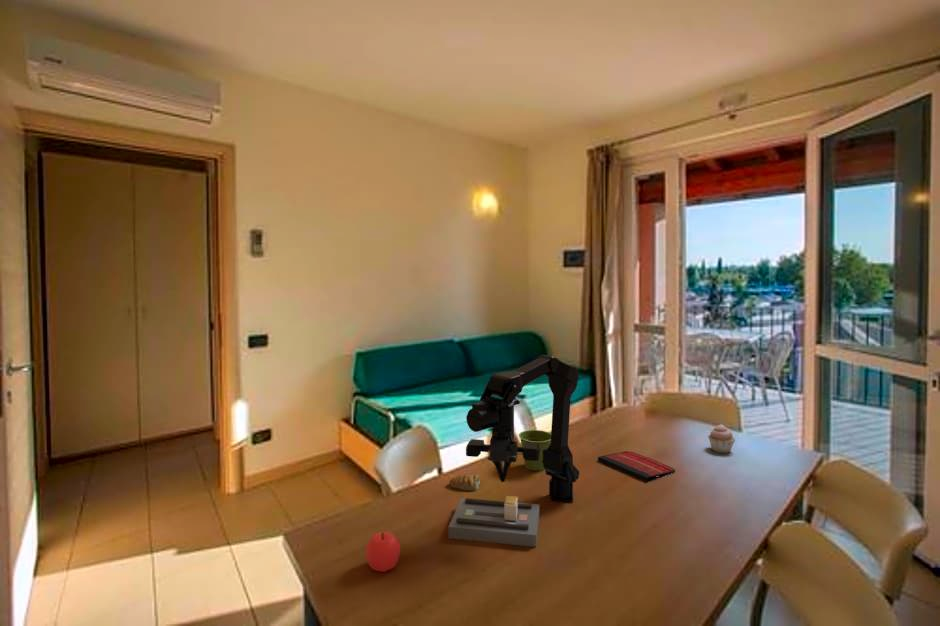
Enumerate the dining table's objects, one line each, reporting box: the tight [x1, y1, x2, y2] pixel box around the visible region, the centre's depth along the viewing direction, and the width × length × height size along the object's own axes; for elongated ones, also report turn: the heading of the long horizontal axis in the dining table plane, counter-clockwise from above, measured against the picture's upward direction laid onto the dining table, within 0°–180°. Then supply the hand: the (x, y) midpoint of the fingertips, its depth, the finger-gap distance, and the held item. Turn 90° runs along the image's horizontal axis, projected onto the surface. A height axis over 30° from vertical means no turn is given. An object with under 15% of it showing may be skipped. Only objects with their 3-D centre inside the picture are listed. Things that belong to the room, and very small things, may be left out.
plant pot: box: [518, 429, 551, 472], centre depth 167 cm, size 12×12×11 cm
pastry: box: [448, 473, 481, 492], centre depth 153 cm, size 9×7×4 cm
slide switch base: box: [447, 497, 541, 548], centre depth 129 cm, size 22×16×4 cm
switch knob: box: [504, 495, 519, 521], centre depth 128 cm, size 3×5×4 cm, turn 169°
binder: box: [597, 450, 676, 483], centre depth 168 cm, size 16×2×21 cm
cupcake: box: [707, 423, 736, 454], centre depth 181 cm, size 9×9×10 cm
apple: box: [365, 531, 401, 573], centre depth 112 cm, size 8×8×8 cm
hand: (502, 481), depth 128 cm, fingers closed
